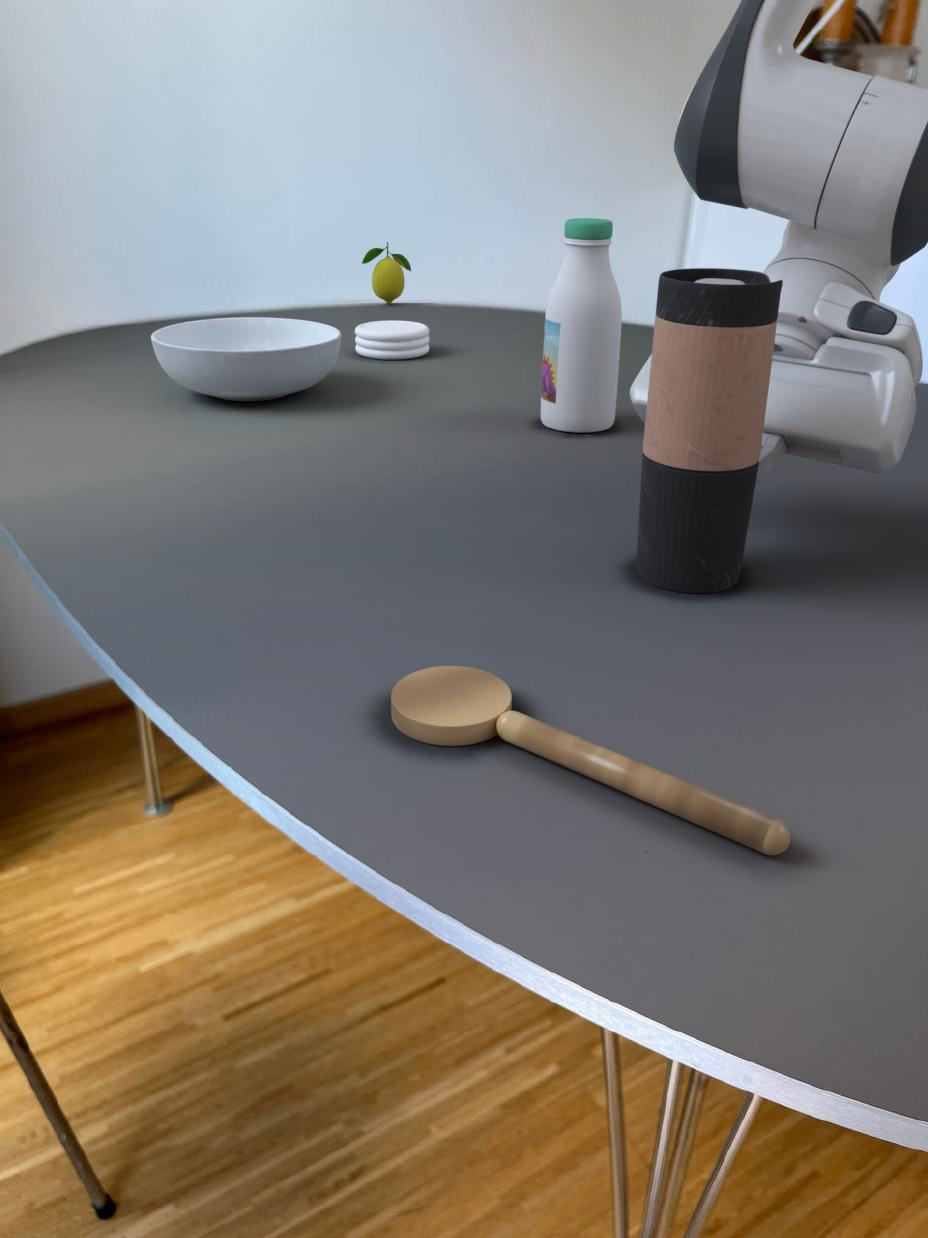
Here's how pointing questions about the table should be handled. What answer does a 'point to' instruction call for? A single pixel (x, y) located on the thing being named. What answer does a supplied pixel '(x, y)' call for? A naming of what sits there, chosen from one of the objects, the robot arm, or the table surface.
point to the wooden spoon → (563, 750)
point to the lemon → (387, 274)
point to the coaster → (392, 340)
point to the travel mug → (704, 425)
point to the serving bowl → (247, 355)
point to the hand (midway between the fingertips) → (722, 491)
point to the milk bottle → (582, 333)
